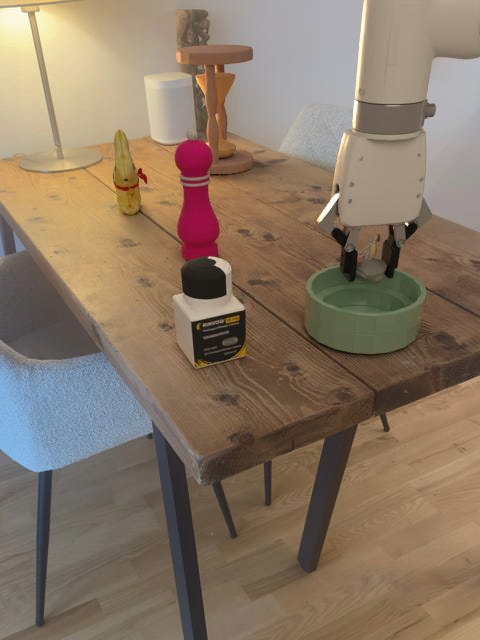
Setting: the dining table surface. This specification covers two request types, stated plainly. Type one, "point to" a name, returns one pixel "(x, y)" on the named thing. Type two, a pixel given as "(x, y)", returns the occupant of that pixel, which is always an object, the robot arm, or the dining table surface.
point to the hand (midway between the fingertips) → (367, 274)
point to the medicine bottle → (209, 313)
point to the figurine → (370, 265)
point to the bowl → (363, 311)
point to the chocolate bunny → (126, 176)
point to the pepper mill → (196, 199)
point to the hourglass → (219, 101)
